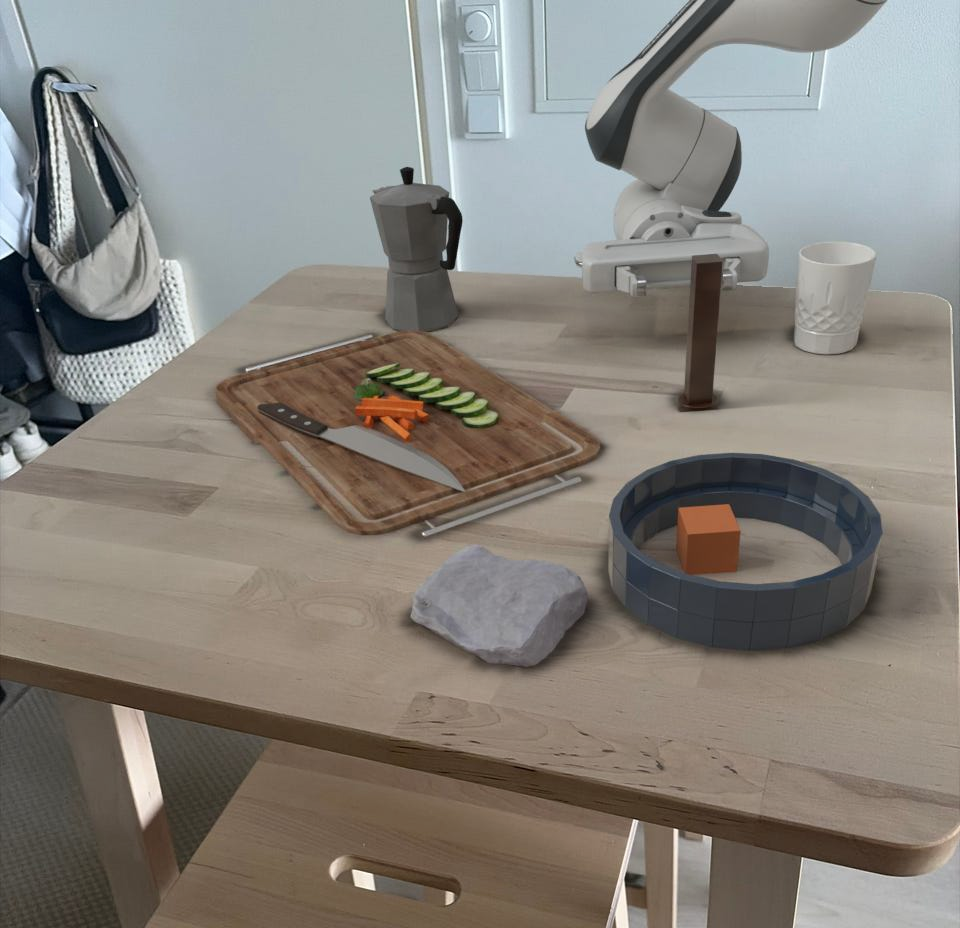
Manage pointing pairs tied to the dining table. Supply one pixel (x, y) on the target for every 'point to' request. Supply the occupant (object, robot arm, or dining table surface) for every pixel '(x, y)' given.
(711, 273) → the stick
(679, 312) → the dining table surface
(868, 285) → the white cup
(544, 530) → the dining table surface
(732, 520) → the block
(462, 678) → the dining table surface
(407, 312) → the coffeepot
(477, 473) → the chopping board
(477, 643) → the stone block
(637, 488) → the faceted bottomless ring
